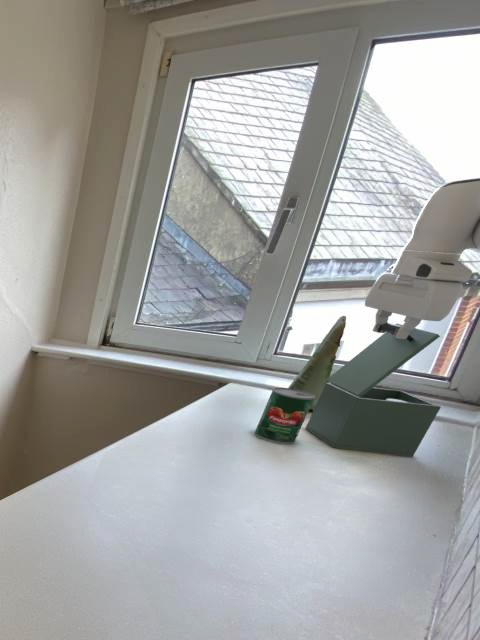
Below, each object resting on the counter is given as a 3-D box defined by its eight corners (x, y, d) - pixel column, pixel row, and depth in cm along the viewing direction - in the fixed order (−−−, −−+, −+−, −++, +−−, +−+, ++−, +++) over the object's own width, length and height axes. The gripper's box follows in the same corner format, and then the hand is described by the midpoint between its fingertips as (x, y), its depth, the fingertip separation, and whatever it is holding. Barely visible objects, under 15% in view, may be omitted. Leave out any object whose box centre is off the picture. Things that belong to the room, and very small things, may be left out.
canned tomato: (264, 441, 126) (284, 396, 121) (247, 429, 133) (265, 386, 128) (302, 445, 125) (323, 399, 120) (283, 433, 132) (303, 389, 127)
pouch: (302, 401, 158) (342, 312, 147) (339, 415, 147) (384, 320, 136) (267, 400, 157) (304, 310, 146) (300, 414, 147) (343, 318, 135)
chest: (376, 437, 133) (401, 390, 128) (412, 457, 122) (441, 406, 117) (304, 428, 136) (326, 382, 131) (333, 447, 125) (357, 398, 120)
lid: (399, 325, 123) (383, 312, 122) (440, 336, 112) (423, 321, 111) (328, 381, 130) (313, 369, 130) (360, 397, 119) (344, 384, 119)
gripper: (373, 262, 122) (344, 325, 128) (441, 270, 104) (403, 343, 110) (406, 264, 121) (374, 328, 127) (480, 273, 103) (439, 346, 109)
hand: (388, 335), depth 119 cm, fingers closed on lid, 5 cm apart
